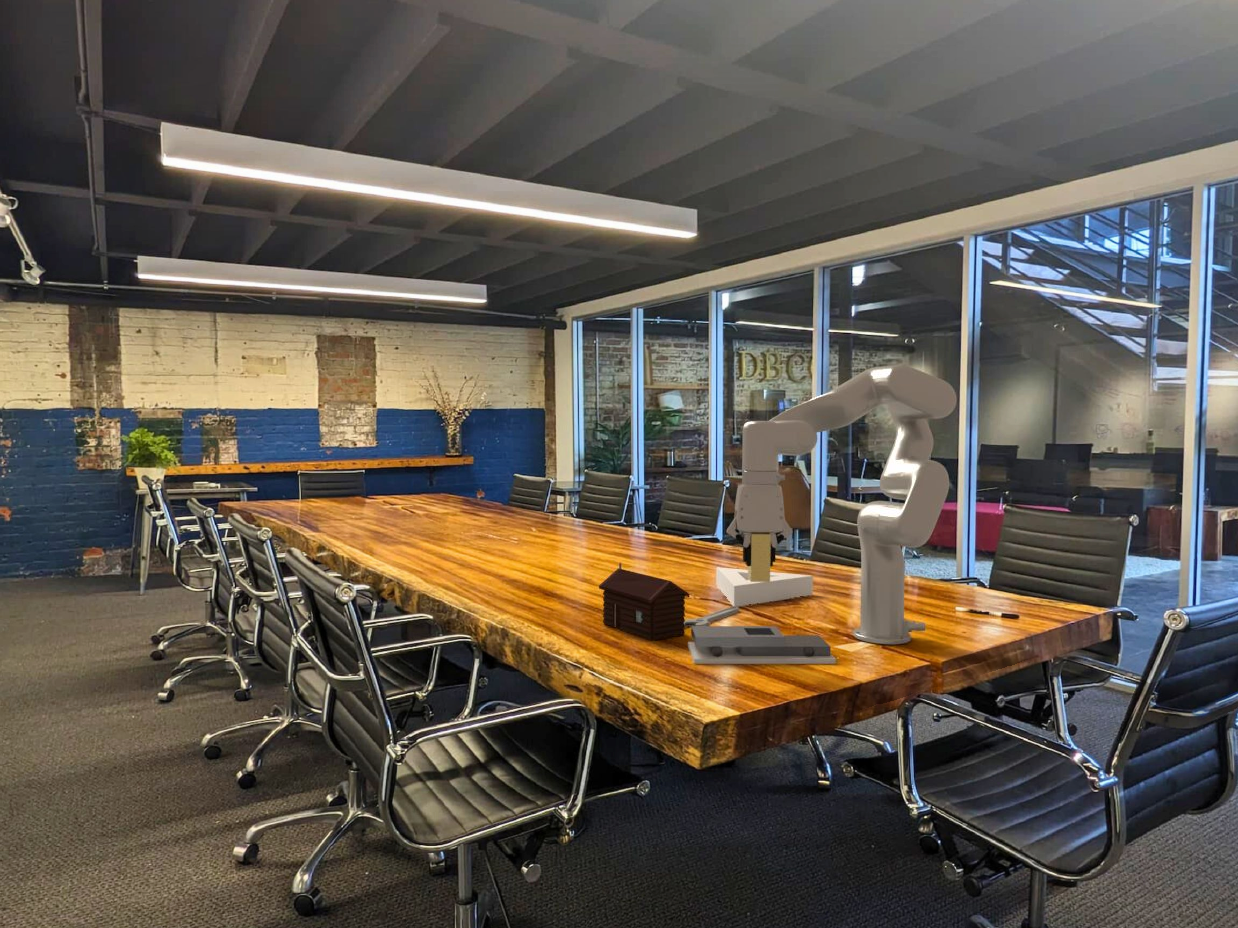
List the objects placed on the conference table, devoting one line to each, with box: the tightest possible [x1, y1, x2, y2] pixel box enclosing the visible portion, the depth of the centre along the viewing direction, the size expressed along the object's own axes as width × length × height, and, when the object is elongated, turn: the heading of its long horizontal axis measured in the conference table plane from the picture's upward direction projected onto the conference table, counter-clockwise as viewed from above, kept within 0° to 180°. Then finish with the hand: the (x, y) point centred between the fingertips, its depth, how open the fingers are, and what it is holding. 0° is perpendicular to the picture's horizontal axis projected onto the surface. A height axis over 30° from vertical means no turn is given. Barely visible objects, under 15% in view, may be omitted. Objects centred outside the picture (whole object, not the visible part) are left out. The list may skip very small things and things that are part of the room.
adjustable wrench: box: [684, 606, 740, 628], centre depth 194 cm, size 25×6×2 cm, turn 139°
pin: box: [747, 533, 771, 582], centre depth 162 cm, size 4×4×10 cm
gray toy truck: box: [690, 625, 832, 657], centre depth 163 cm, size 28×10×4 cm, turn 90°
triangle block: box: [715, 566, 814, 607], centre depth 227 cm, size 30×26×6 cm
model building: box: [598, 562, 690, 642], centre depth 184 cm, size 21×12×15 cm, turn 36°
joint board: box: [687, 641, 837, 665], centre depth 163 cm, size 29×13×1 cm, turn 90°
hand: (758, 564), depth 162 cm, fingers closed on pin, 4 cm apart
